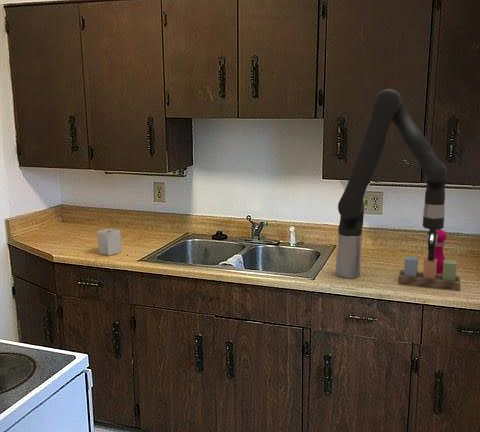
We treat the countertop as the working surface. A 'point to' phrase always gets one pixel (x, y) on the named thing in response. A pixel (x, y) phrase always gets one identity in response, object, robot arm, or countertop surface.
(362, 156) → the robot arm
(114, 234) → the light grey block
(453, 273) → the olive block
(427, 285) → the walnut board
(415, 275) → the slate block
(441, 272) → the pepper mill
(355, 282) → the countertop surface
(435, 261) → the terracotta block
